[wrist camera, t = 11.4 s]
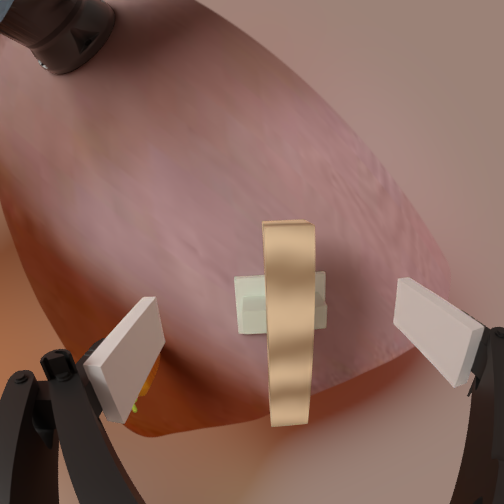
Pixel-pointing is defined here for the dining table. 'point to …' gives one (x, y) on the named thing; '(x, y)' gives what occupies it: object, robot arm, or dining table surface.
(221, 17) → the dining table surface
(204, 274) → the dining table surface
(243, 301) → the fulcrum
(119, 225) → the dining table surface
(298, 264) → the birch bar
